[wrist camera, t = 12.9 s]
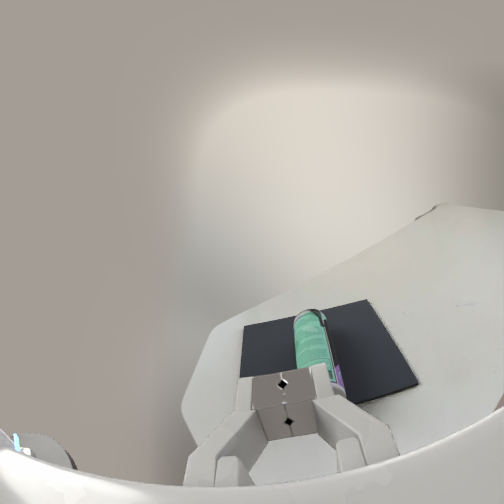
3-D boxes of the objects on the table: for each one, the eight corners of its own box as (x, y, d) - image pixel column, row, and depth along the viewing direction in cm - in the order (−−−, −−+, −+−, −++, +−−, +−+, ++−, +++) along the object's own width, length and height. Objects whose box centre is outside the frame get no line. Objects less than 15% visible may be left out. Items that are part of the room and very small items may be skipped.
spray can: (356, 397, 30) (331, 311, 49) (322, 379, 29) (306, 295, 48) (323, 421, 31) (310, 333, 50) (289, 406, 31) (285, 317, 49)
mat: (236, 425, 33) (235, 424, 33) (244, 327, 56) (244, 325, 56) (418, 384, 31) (418, 382, 31) (366, 300, 54) (366, 299, 54)
